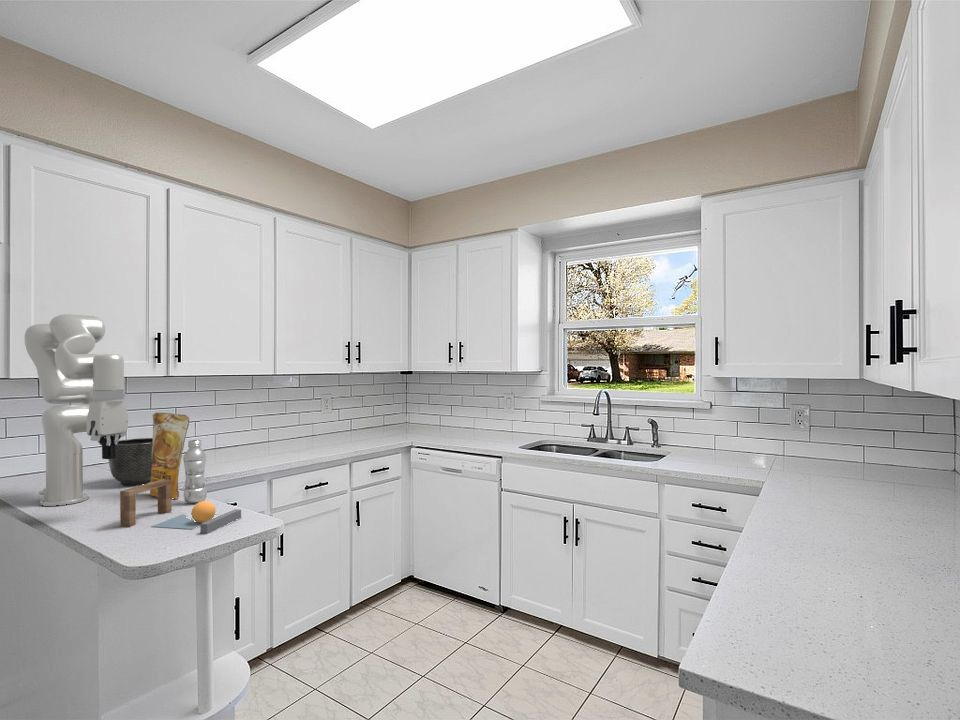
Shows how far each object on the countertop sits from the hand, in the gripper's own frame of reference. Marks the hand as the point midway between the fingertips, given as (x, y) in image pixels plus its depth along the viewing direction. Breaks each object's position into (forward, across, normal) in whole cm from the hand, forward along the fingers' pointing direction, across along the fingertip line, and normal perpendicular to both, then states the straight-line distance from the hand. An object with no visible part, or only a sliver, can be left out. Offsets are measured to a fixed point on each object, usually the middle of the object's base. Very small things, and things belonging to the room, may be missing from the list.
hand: (109, 458), depth 155 cm
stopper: (+17, +2, +39) cm, 43 cm away
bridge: (+17, 0, +13) cm, 21 cm away
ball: (+14, 0, +32) cm, 35 cm away
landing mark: (+17, 0, +27) cm, 32 cm away
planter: (+17, -38, -28) cm, 50 cm away
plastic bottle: (+17, -18, +14) cm, 29 cm away
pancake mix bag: (+17, -24, -2) cm, 30 cm away
